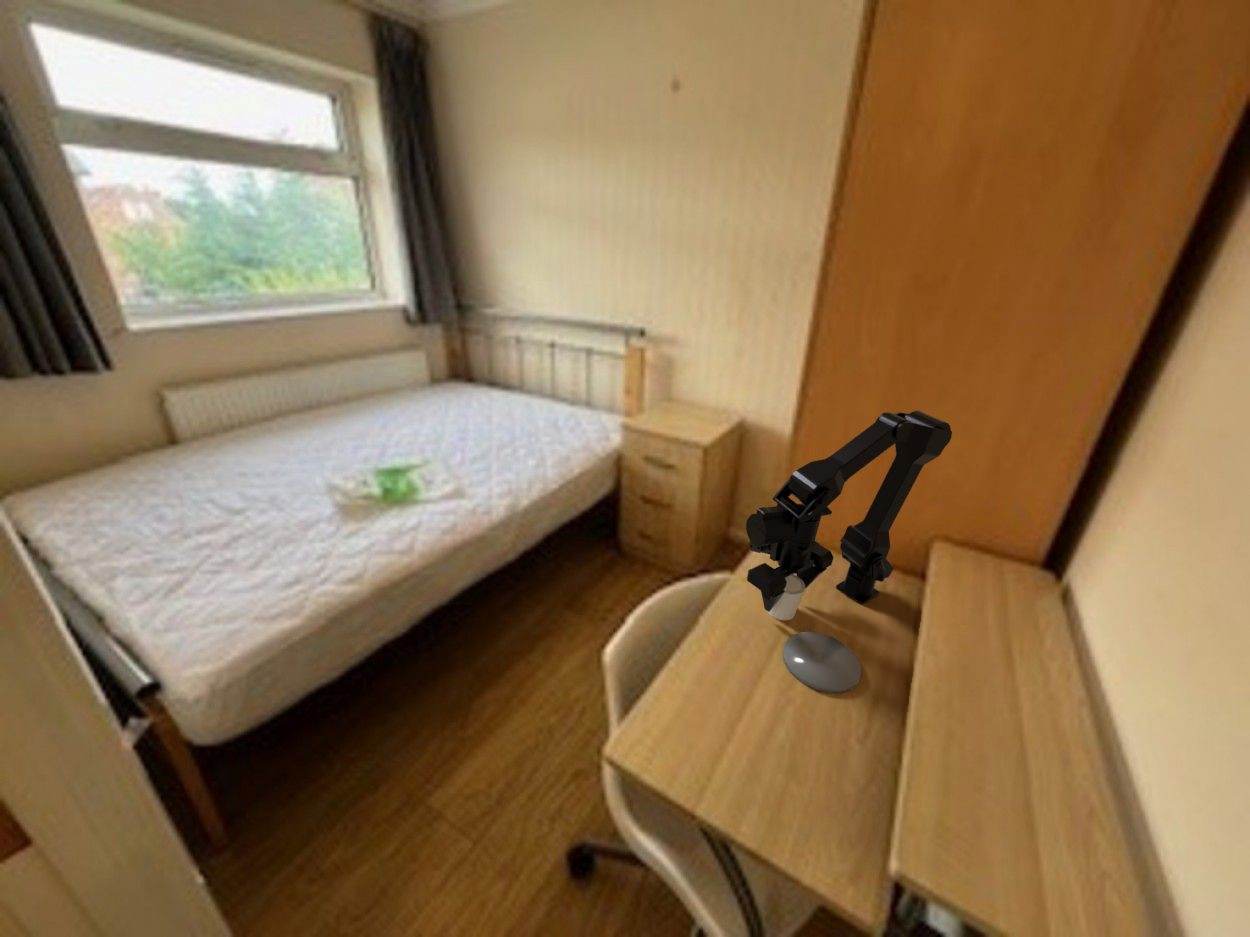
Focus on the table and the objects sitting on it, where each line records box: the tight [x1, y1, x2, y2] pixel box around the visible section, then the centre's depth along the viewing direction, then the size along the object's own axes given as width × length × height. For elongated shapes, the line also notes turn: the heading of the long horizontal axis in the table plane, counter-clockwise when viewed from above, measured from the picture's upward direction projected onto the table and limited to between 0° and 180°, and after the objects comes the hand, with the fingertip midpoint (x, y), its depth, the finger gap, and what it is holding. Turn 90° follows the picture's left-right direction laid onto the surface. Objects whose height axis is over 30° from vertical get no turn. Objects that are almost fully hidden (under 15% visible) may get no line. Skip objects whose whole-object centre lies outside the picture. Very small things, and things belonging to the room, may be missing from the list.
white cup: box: [766, 574, 806, 621], centre depth 107 cm, size 7×7×7 cm
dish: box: [782, 631, 862, 695], centre depth 96 cm, size 13×13×1 cm
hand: (782, 601), depth 107 cm, fingers open, 9 cm apart
